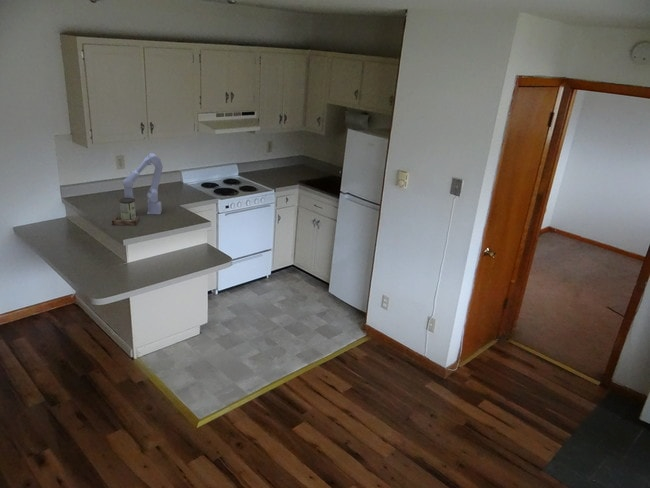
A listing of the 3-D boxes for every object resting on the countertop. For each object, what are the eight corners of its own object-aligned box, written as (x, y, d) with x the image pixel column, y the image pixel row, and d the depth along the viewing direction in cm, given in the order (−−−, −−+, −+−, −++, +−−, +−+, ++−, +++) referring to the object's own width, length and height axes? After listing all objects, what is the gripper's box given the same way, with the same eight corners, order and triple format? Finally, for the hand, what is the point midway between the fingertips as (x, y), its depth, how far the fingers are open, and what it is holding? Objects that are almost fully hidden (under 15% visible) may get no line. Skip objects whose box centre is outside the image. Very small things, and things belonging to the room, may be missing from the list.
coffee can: (123, 215, 360) (121, 197, 355) (138, 216, 361) (136, 197, 355) (118, 220, 350) (117, 201, 345) (133, 221, 351) (132, 202, 346)
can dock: (139, 220, 354) (138, 216, 352) (136, 225, 344) (136, 221, 343) (115, 220, 351) (115, 216, 350) (112, 225, 342) (111, 221, 341)
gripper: (125, 192, 363) (127, 209, 368) (120, 198, 349) (122, 216, 355) (135, 192, 364) (136, 210, 369) (131, 198, 350) (132, 216, 356)
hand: (130, 213), depth 362 cm, fingers closed
